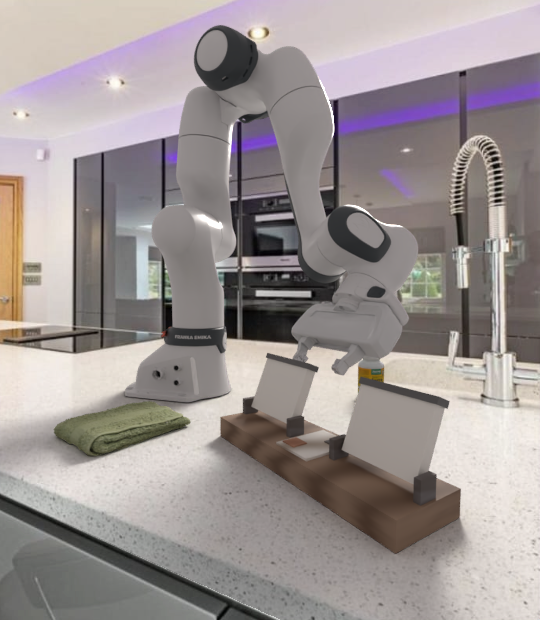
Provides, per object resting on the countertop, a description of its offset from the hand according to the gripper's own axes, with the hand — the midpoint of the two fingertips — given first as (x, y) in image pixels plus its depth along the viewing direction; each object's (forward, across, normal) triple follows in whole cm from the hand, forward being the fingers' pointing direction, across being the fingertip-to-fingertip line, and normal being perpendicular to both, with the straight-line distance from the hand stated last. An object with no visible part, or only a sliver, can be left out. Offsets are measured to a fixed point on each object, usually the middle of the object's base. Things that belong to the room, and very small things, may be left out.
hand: (315, 367), depth 64 cm
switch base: (+13, +10, +1) cm, 17 cm away
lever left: (+11, 0, -1) cm, 11 cm away
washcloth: (+25, -17, -10) cm, 32 cm away
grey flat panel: (+11, +20, -1) cm, 23 cm away
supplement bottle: (-9, -9, +24) cm, 27 cm away
